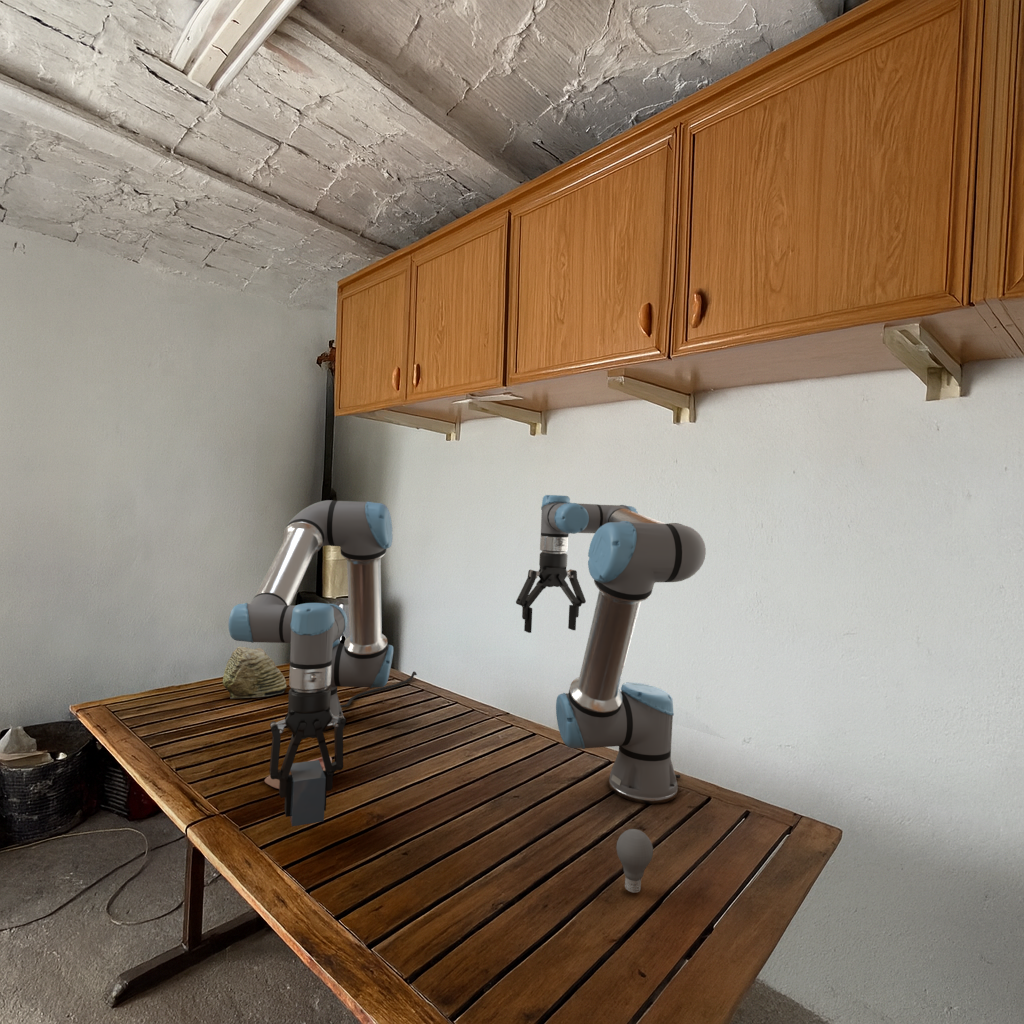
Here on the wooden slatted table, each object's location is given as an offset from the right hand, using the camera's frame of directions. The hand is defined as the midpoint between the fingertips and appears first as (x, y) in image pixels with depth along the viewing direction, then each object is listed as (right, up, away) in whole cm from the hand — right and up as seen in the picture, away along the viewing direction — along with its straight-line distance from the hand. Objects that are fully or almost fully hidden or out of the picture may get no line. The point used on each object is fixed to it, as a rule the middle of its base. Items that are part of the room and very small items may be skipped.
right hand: (550, 630), depth 171 cm
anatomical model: (-58, -28, -30) cm, 71 cm away
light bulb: (+10, -31, -66) cm, 73 cm away
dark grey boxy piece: (-49, -24, -53) cm, 76 cm away
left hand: (-49, -24, -53) cm, 76 cm away
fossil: (-91, -25, +27) cm, 98 cm away
